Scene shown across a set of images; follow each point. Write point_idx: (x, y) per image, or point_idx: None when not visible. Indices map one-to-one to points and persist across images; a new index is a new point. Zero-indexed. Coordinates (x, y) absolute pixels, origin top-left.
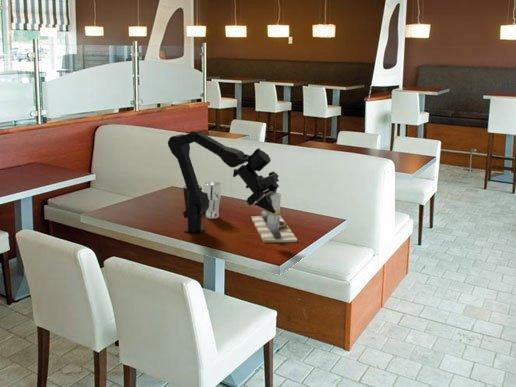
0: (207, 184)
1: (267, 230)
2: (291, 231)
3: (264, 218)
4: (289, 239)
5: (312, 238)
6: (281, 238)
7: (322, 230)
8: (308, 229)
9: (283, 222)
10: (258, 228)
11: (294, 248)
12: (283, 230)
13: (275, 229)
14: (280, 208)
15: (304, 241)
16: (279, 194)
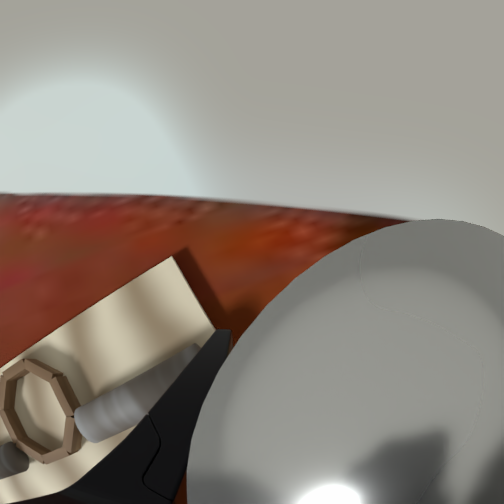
0: None
1: (107, 445)
2: (66, 323)
3: (12, 475)
4: (190, 293)
5: (100, 212)
6: (193, 340)
7: (7, 214)
8: (6, 268)
9: (6, 381)
10: None
11: (277, 239)
12: (68, 366)
13: (163, 390)
14: (223, 329)
15: (152, 230)
16: (395, 283)
